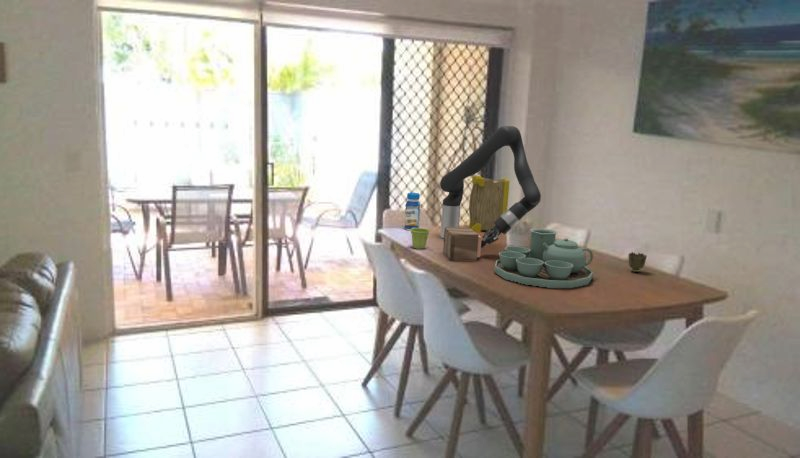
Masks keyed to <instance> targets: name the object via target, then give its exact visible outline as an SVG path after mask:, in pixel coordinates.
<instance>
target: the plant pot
mask: <svg viewBox="0 0 800 458" xmlns="http://www.w3.org/2000/svg"><path fill="white" fill-rule="evenodd" d="M409 231H410V233H411V242H412V248H414V249H417V250H422V249H425V248H426V245H427V240H428V236H429V234H430V232H431V231H430V230H429V229H428V228H422V227H419V228H412V229H410V230H409Z"/></svg>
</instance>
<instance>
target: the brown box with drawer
mask: <svg viewBox="0 0 800 458" xmlns="http://www.w3.org/2000/svg"><path fill="white" fill-rule="evenodd" d="M478 236H479V233H478V232H475V231H473V230H472V229H471V228H469V227H460V226H459V227H445V231H444V238H443V249H442V250H443V251H442V253H443V254H444V255H445V256H446V258H448V260H449V261H450V262H477V261H478V257H477V250H478Z"/></svg>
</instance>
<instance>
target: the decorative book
mask: <svg viewBox="0 0 800 458" xmlns="http://www.w3.org/2000/svg"><path fill="white" fill-rule="evenodd" d="M471 182H472V183H471V184H472V187H471V191H470V195H469V203H468V204H469V205H468V211H469V225H468V226H469V227H468V228H471V229H472V230H473V231H475V232H476V233H481V232H482V231H487V230H488V229H489V230H490V229H491V228H493V227H495V225H494V222H495V221H496V220H497V219H498V218H499V217H500V216H501V215H502V214H503V213H504V212H506V211H507V210H508V203H509V193H510V192H509V191H510V180H509V179H507V178H503V177H501V178H500V179H496V180H494V179H492V178H485V177H482V176H481V175H472V181H471Z"/></svg>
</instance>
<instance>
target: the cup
mask: <svg viewBox="0 0 800 458" xmlns="http://www.w3.org/2000/svg"><path fill="white" fill-rule="evenodd" d="M647 257H648V255H647V254H644V253H641V252H638V253H637V254H636V253H635V252H633V251H631V252H629V253H628V266H629V268H631V269H630V270H631V272H632V271H634V272H633V273H635V272H639V273H640V272H641V270H642V269H643V268H644V267H645V264H646V262H647Z"/></svg>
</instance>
